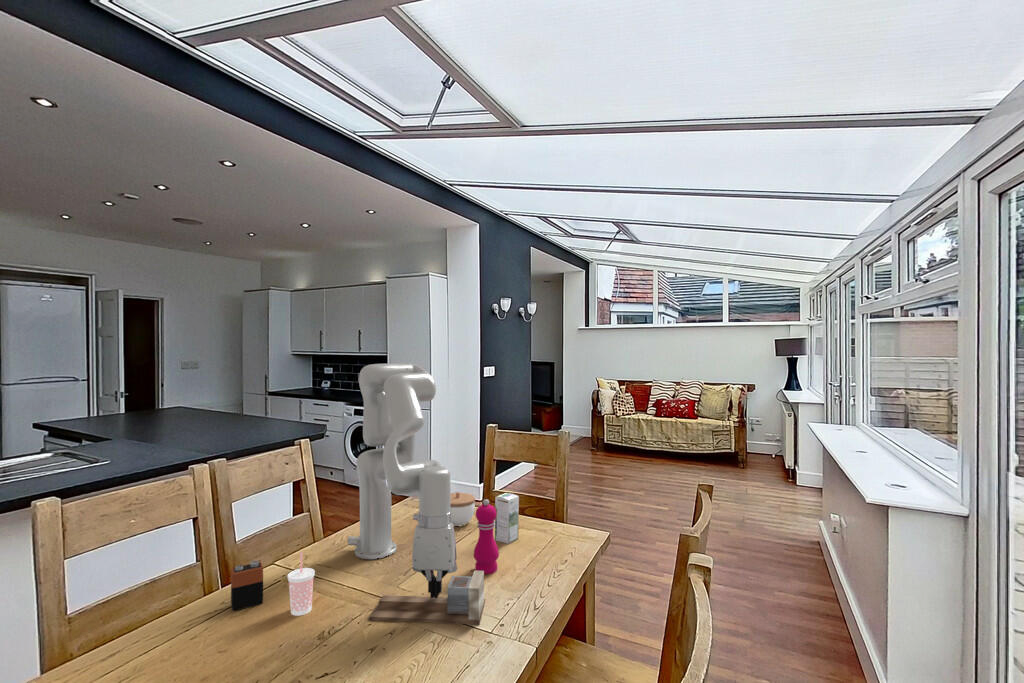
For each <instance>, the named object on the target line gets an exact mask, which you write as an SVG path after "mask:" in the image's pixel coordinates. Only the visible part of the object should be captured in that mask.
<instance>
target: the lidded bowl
mask: <svg viewBox="0 0 1024 683" xmlns="http://www.w3.org/2000/svg"><path fill="white" fill-rule="evenodd" d="M475 504H476V496H474V495H473V494H470V493H468V492H467V493H466V492H459V491H457V492H454V493H452V492H451V493H450V522H451V523H453V525H454V526H459V525H464V524H466V523H468V524H469V522H470V521H471V520H472V518H473V516H474V514H475V506H476V505H475Z"/></svg>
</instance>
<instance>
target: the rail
mask: <svg viewBox="0 0 1024 683" xmlns="http://www.w3.org/2000/svg"><path fill="white" fill-rule="evenodd" d="M485 604H486V599H485V574H484V571H476V570H474V571H473V573H472V579H471V582H470V585H469V614H447V596H445V597H444V596H443V597H442V596H438V597H437V598H430V596H418V595H417V596H415V595H413V596H412V595H391V594H390V595H389V594H388V595H387V594H384V595H381V597H380V598H379V600H378V603H377V604H376V605H375V607H374V608H373V610H372V612H371V613H370V615H369V616H368V618H369V619H368V620H369V621H380V622H381V621H382V622H383V621H384V622H385V621H386V622H408V623H430V624H433V623H435V624H455V625H457V624H459V625H480V624H481V620H482V616H483V612H484V608H485Z"/></svg>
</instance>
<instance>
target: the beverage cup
mask: <svg viewBox="0 0 1024 683" xmlns="http://www.w3.org/2000/svg"><path fill="white" fill-rule="evenodd" d="M299 558H300V559H299V561H300V562H299V568H296V569H294V570H292V571H290V572H288V574H287V580H288V587H289V589H288V590H289V602H290V606H289V607H290V614H291V615H293V616H296V617H298V616H299V617H300V616H304V615H306V614H309V613H310V612H311V610H312V608H313V607H312V606H313V605H312V604H313V591H314V590H313V588H314V577H315V573H316V570H315V569H313V568H311V567H303V552H299Z"/></svg>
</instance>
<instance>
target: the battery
mask: <svg viewBox="0 0 1024 683" xmlns="http://www.w3.org/2000/svg"><path fill="white" fill-rule="evenodd" d="M230 604H231V609H232V611H239V610H243V609H247V608H250V607H254V606H258V605H262V604H264V566H263V564H262V562H261V561H259V560H253V561H250V562H249V564H248V563H247V564H244V565H243V564H238V565H236V566H234V567H232V568H231V570H230Z"/></svg>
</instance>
